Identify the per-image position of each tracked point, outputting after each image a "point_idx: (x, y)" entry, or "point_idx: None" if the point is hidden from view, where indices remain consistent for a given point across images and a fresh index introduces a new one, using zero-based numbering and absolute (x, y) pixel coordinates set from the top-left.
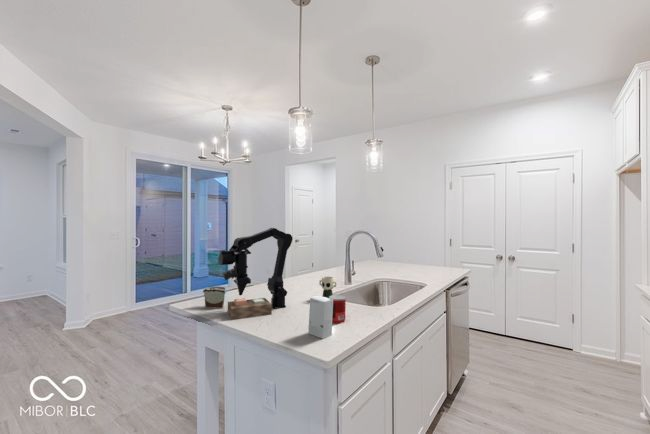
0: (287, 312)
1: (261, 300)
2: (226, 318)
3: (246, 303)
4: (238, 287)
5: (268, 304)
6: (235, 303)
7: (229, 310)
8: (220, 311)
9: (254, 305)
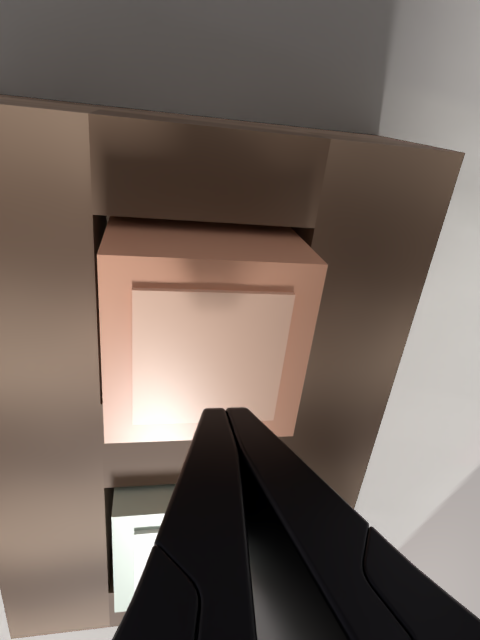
0: None
1: (135, 589)
2: (78, 30)
3: None
4: (116, 635)
5: (8, 613)
6: (155, 241)
7: (221, 121)
8: (462, 40)
9: (19, 483)
